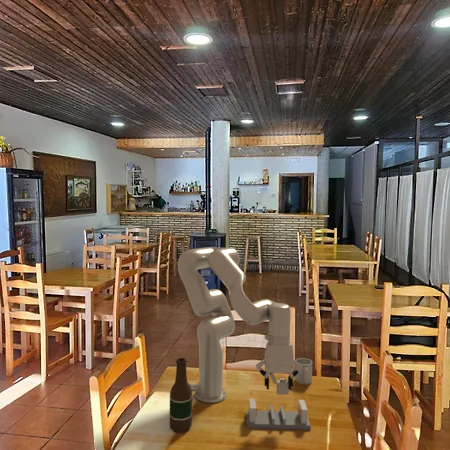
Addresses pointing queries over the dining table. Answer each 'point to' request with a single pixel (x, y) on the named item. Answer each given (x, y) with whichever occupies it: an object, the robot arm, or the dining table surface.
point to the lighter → (280, 385)
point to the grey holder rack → (278, 417)
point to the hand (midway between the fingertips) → (278, 387)
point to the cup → (304, 371)
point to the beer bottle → (181, 400)
